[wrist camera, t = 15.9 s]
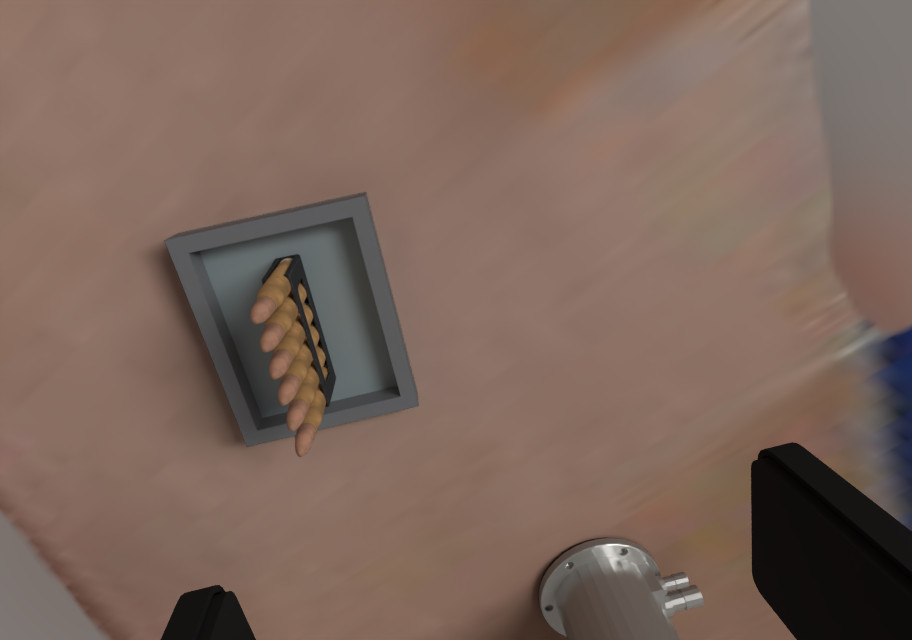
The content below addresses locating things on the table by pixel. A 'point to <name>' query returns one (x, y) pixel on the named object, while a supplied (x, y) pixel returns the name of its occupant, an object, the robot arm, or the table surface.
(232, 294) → the holder tray
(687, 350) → the table surface
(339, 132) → the table surface
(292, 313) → the ammunition clip
